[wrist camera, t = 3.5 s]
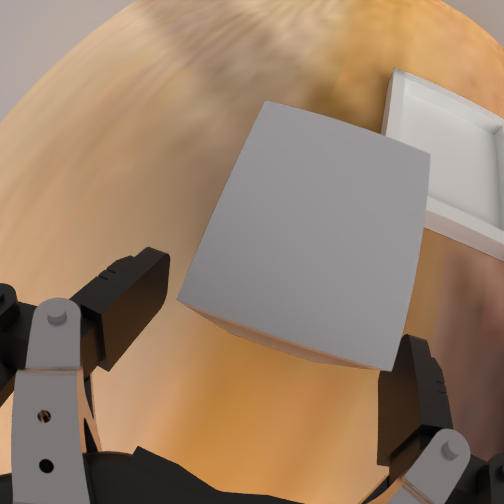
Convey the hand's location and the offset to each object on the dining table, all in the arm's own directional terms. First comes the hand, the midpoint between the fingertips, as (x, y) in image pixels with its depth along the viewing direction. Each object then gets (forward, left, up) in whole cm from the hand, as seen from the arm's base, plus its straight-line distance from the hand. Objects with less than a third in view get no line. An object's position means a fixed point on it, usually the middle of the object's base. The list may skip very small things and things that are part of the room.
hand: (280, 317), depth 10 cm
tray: (-9, -16, -9) cm, 21 cm away
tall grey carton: (0, -2, -9) cm, 9 cm away
